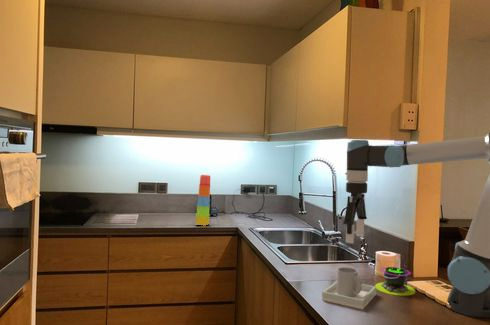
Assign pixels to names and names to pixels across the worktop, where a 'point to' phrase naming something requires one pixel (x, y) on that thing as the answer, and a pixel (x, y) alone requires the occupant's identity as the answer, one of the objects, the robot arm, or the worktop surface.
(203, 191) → the stacking cups
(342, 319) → the worktop surface
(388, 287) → the toy cauldron
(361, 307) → the shallow rectangular tray
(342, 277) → the cup
